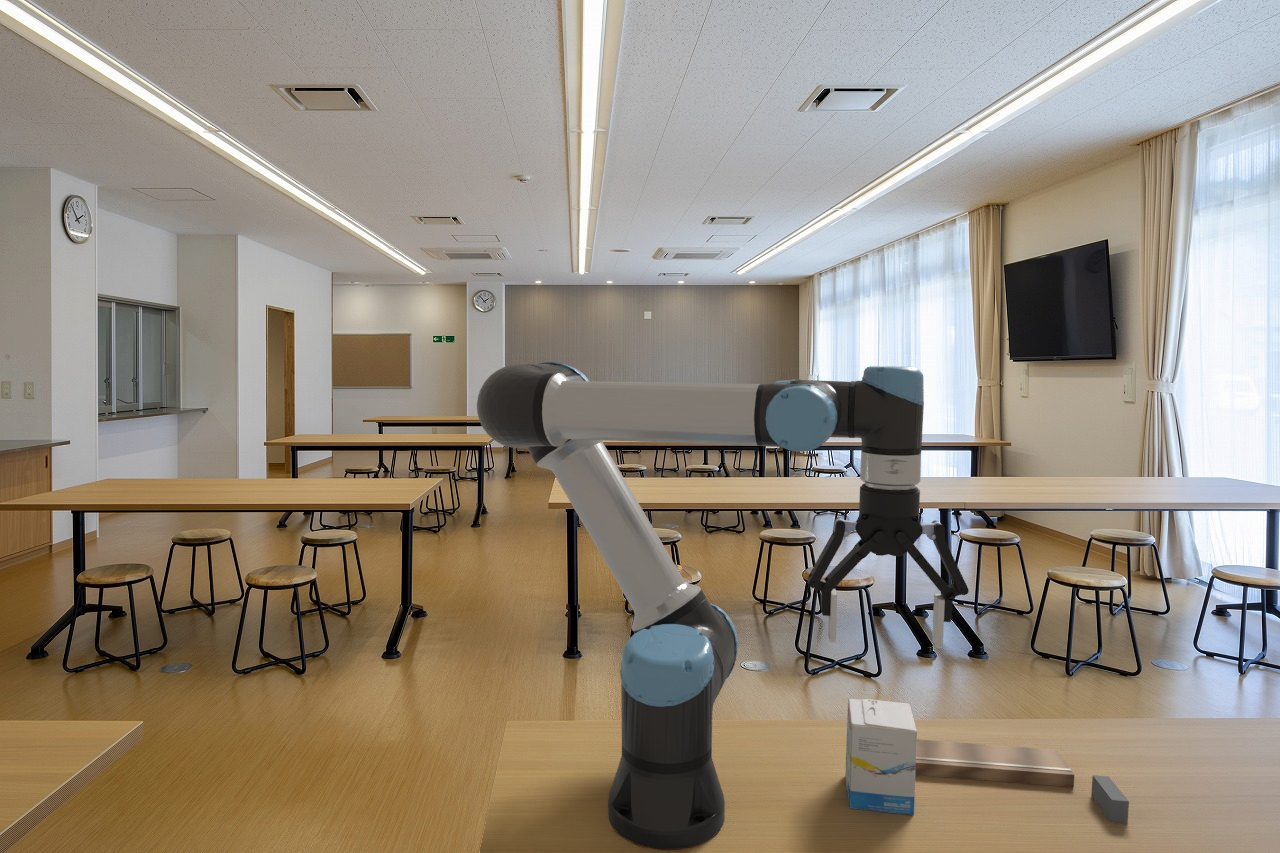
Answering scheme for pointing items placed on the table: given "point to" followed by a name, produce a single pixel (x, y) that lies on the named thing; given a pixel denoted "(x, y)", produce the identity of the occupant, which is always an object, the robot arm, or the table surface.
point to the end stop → (1110, 799)
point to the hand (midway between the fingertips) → (884, 642)
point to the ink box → (880, 756)
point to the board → (992, 763)
